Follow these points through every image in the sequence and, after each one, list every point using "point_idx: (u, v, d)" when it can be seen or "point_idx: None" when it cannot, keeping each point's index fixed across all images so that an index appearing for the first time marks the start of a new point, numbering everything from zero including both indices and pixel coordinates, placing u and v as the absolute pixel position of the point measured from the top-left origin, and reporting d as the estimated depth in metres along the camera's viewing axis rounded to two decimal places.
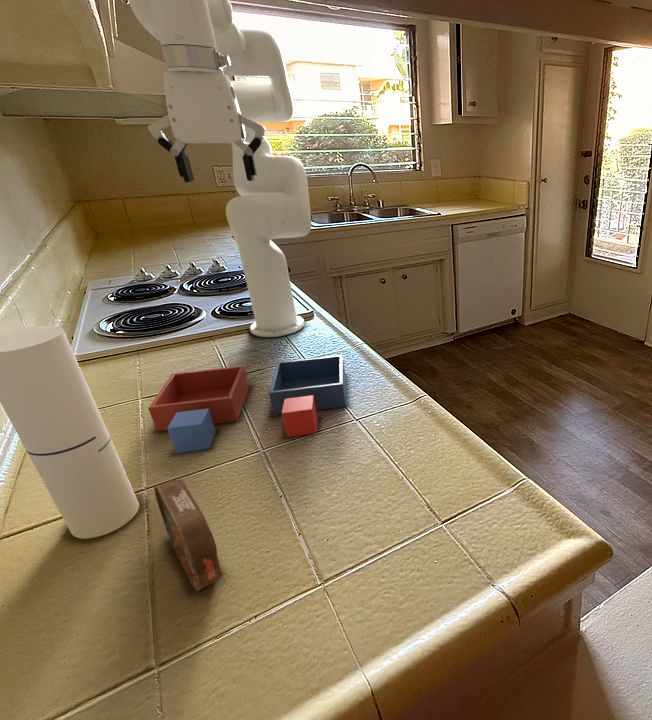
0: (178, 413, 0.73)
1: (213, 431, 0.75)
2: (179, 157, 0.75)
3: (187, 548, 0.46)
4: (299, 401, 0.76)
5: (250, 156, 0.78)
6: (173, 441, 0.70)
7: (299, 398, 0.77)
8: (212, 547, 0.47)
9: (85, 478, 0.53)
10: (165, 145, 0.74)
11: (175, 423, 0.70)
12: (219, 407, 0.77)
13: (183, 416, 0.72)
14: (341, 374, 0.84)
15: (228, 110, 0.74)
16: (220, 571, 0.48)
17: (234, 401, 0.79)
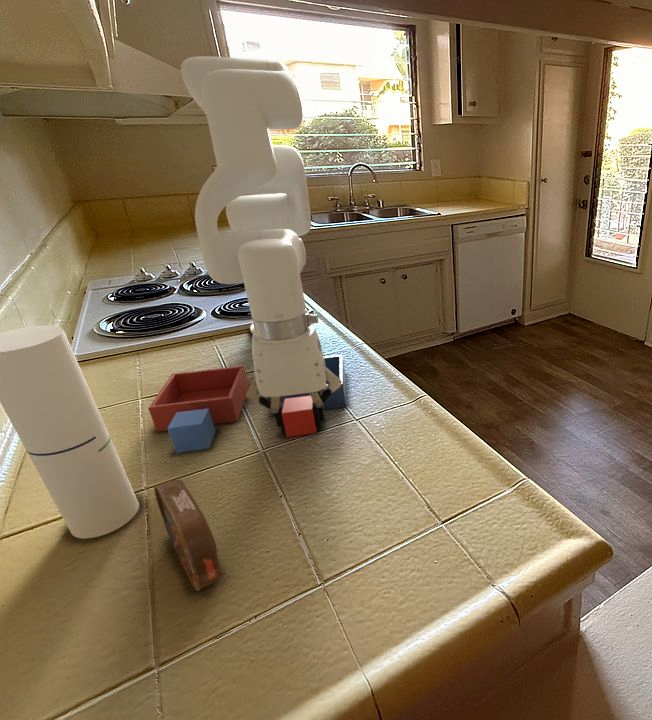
0: (178, 413, 0.73)
1: (213, 431, 0.75)
2: (279, 414, 0.73)
3: (187, 548, 0.46)
4: (299, 401, 0.76)
5: (320, 406, 0.76)
6: (173, 441, 0.70)
7: (299, 398, 0.77)
8: (212, 547, 0.47)
9: (85, 478, 0.53)
10: (265, 404, 0.73)
11: (175, 423, 0.70)
12: (219, 407, 0.77)
13: (183, 416, 0.72)
14: (341, 374, 0.84)
15: (315, 366, 0.71)
16: (220, 571, 0.48)
17: (234, 401, 0.79)
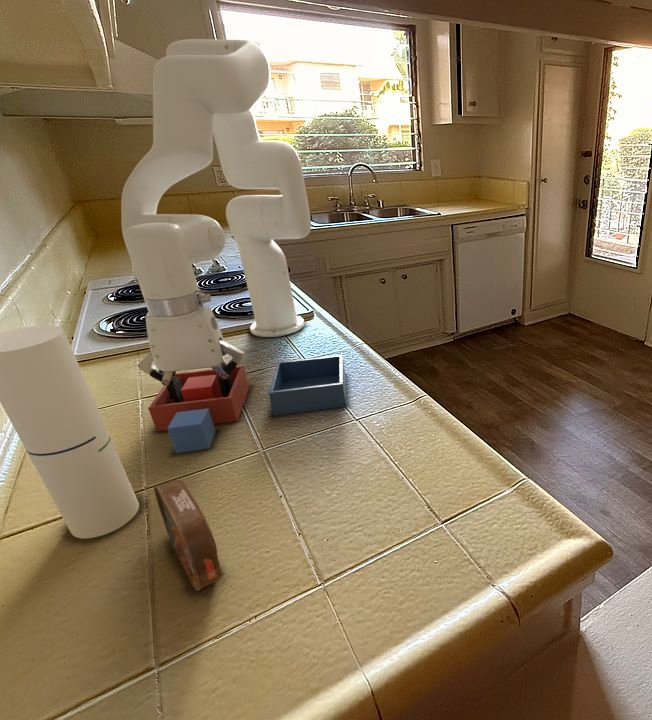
0: (178, 413, 0.73)
1: (213, 431, 0.75)
2: (170, 386, 0.78)
3: (187, 548, 0.46)
4: (201, 380, 0.81)
5: (226, 378, 0.81)
6: (173, 441, 0.70)
7: (202, 377, 0.82)
8: (212, 547, 0.47)
9: (85, 478, 0.53)
10: (157, 377, 0.78)
11: (175, 423, 0.70)
12: (219, 407, 0.77)
13: (183, 416, 0.72)
14: (341, 374, 0.84)
15: (209, 343, 0.76)
16: (220, 571, 0.48)
17: (234, 401, 0.79)
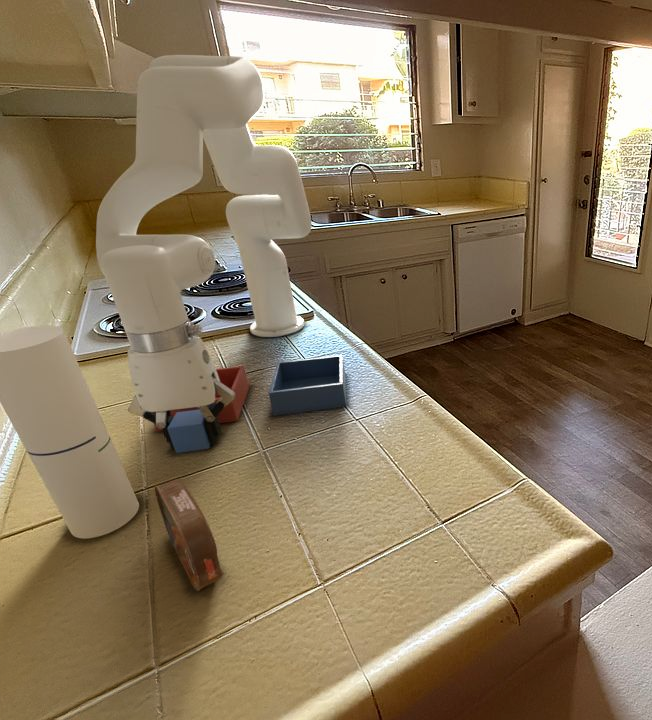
0: (178, 413, 0.73)
1: None
2: (166, 429, 0.70)
3: (187, 548, 0.46)
4: None
5: (212, 420, 0.72)
6: (173, 441, 0.70)
7: None
8: (212, 547, 0.47)
9: (85, 478, 0.53)
10: (151, 418, 0.69)
11: (175, 423, 0.70)
12: None
13: (183, 416, 0.72)
14: (341, 374, 0.84)
15: (200, 379, 0.67)
16: (220, 571, 0.48)
17: (234, 401, 0.79)
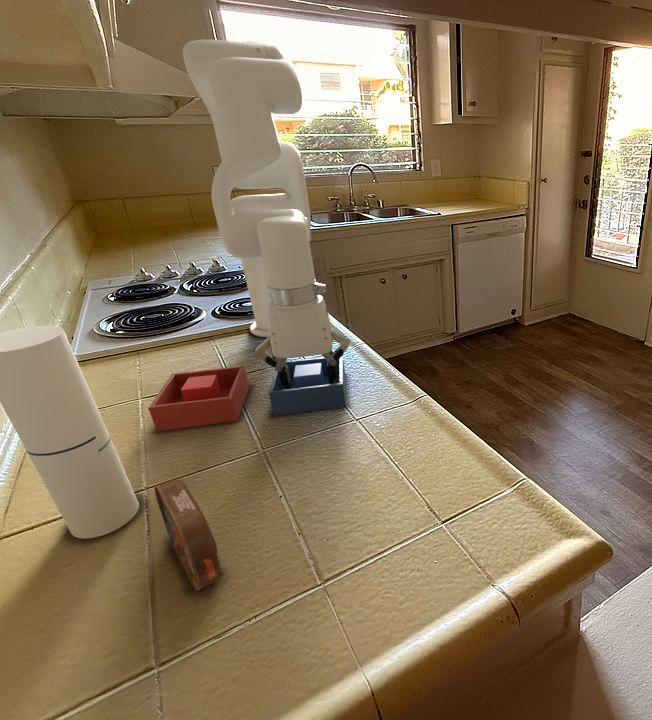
0: (297, 366, 0.86)
1: (324, 382, 0.88)
2: (283, 372, 0.82)
3: (187, 548, 0.46)
4: (201, 380, 0.81)
5: (333, 365, 0.85)
6: None
7: (202, 377, 0.82)
8: (212, 547, 0.47)
9: (85, 478, 0.53)
10: (271, 363, 0.82)
11: (298, 373, 0.83)
12: (219, 407, 0.77)
13: (302, 368, 0.85)
14: (341, 374, 0.84)
15: (323, 331, 0.80)
16: (220, 571, 0.48)
17: (234, 401, 0.79)
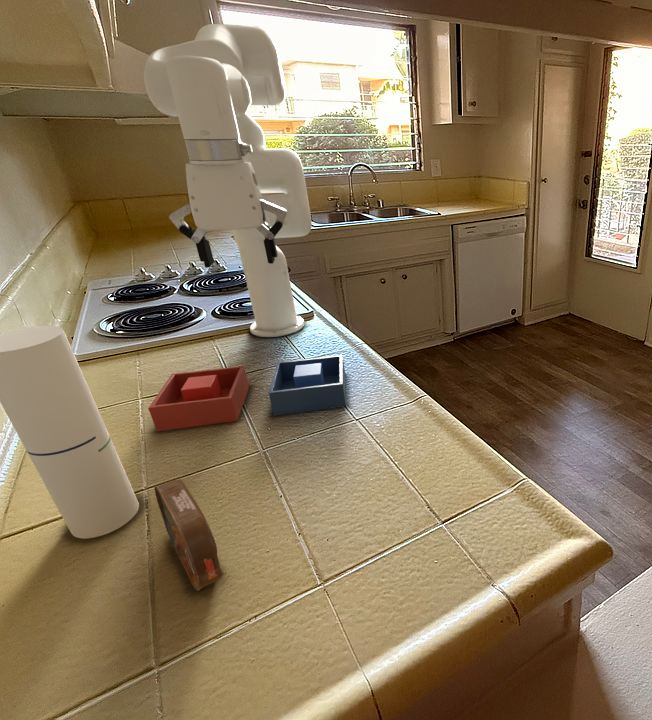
0: (297, 366, 0.86)
1: (324, 382, 0.88)
2: (200, 244, 0.74)
3: (187, 548, 0.46)
4: (201, 380, 0.81)
5: (271, 240, 0.77)
6: None
7: (202, 377, 0.82)
8: (212, 547, 0.47)
9: (85, 478, 0.53)
10: (186, 233, 0.73)
11: (298, 373, 0.83)
12: (219, 407, 0.77)
13: (302, 368, 0.85)
14: (341, 374, 0.84)
15: (250, 198, 0.73)
16: (220, 571, 0.48)
17: (234, 401, 0.79)
